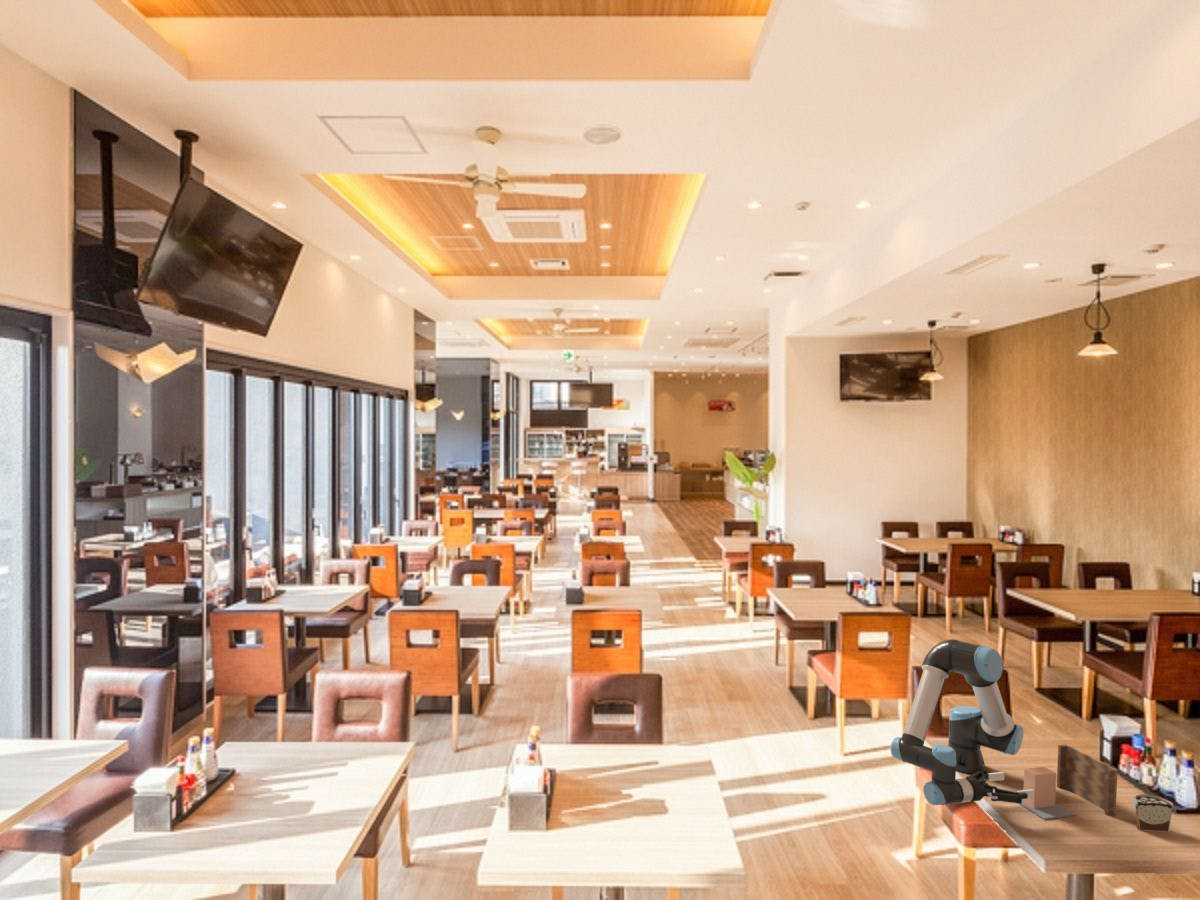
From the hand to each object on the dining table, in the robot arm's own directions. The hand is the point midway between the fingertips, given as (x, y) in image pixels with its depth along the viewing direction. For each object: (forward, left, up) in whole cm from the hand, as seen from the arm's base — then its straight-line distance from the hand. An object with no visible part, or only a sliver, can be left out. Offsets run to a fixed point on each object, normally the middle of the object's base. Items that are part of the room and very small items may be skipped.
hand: (1017, 784), depth 274 cm
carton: (0, +9, -8) cm, 12 cm away
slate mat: (0, +10, -8) cm, 13 cm away
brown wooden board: (0, +30, -9) cm, 31 cm away
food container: (+20, +35, -9) cm, 42 cm away
